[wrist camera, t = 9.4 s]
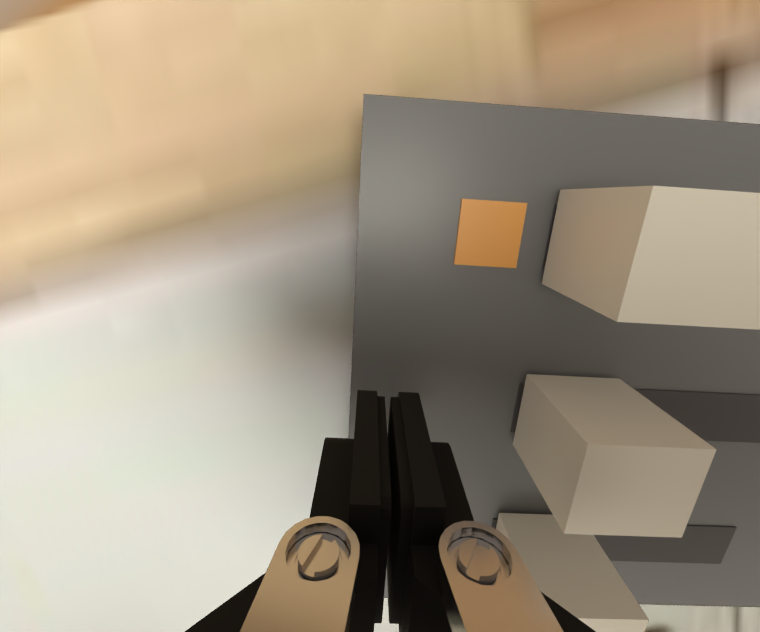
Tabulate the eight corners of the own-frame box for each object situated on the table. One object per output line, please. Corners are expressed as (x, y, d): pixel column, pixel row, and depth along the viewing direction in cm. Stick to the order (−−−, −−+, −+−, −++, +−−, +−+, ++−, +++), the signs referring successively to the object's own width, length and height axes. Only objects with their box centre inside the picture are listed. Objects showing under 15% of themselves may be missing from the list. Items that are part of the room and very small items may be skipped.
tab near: (667, 196, 10) (812, 196, 7) (641, 289, 11) (759, 329, 8) (560, 189, 10) (653, 185, 7) (541, 283, 11) (616, 321, 8)
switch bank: (937, 160, 13) (1102, 149, 10) (754, 544, 18) (828, 611, 15) (365, 118, 12) (363, 92, 9) (346, 531, 18) (341, 599, 15)
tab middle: (619, 378, 12) (716, 449, 9) (599, 448, 13) (681, 537, 9) (527, 373, 12) (588, 443, 8) (512, 444, 13) (563, 533, 9)
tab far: (580, 515, 14) (649, 619, 10) (565, 569, 14) (624, 682, 11) (499, 512, 13) (541, 617, 10) (487, 567, 14) (523, 680, 11)
